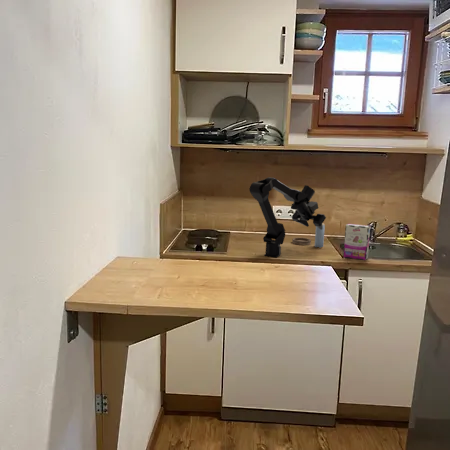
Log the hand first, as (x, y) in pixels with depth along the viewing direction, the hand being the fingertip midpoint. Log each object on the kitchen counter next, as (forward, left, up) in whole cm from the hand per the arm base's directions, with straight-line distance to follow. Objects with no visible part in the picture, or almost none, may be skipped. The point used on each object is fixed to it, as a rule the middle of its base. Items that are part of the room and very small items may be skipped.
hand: (315, 227), depth 247 cm
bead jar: (+2, +4, -11) cm, 12 cm away
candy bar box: (+23, -11, -11) cm, 28 cm away
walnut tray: (-9, +7, -11) cm, 16 cm away
